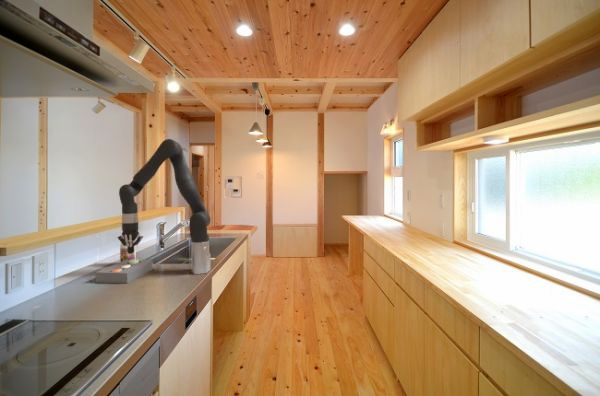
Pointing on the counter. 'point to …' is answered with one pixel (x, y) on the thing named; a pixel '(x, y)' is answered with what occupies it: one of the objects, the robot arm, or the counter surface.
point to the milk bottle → (126, 253)
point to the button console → (123, 272)
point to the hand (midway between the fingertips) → (130, 253)
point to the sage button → (133, 261)
